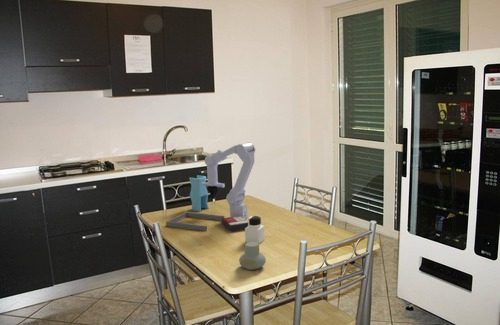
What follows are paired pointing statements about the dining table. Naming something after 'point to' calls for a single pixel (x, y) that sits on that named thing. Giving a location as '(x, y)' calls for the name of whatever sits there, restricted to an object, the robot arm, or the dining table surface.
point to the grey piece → (174, 223)
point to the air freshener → (252, 257)
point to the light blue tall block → (198, 193)
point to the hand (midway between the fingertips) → (213, 198)
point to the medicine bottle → (254, 230)
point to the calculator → (235, 223)
